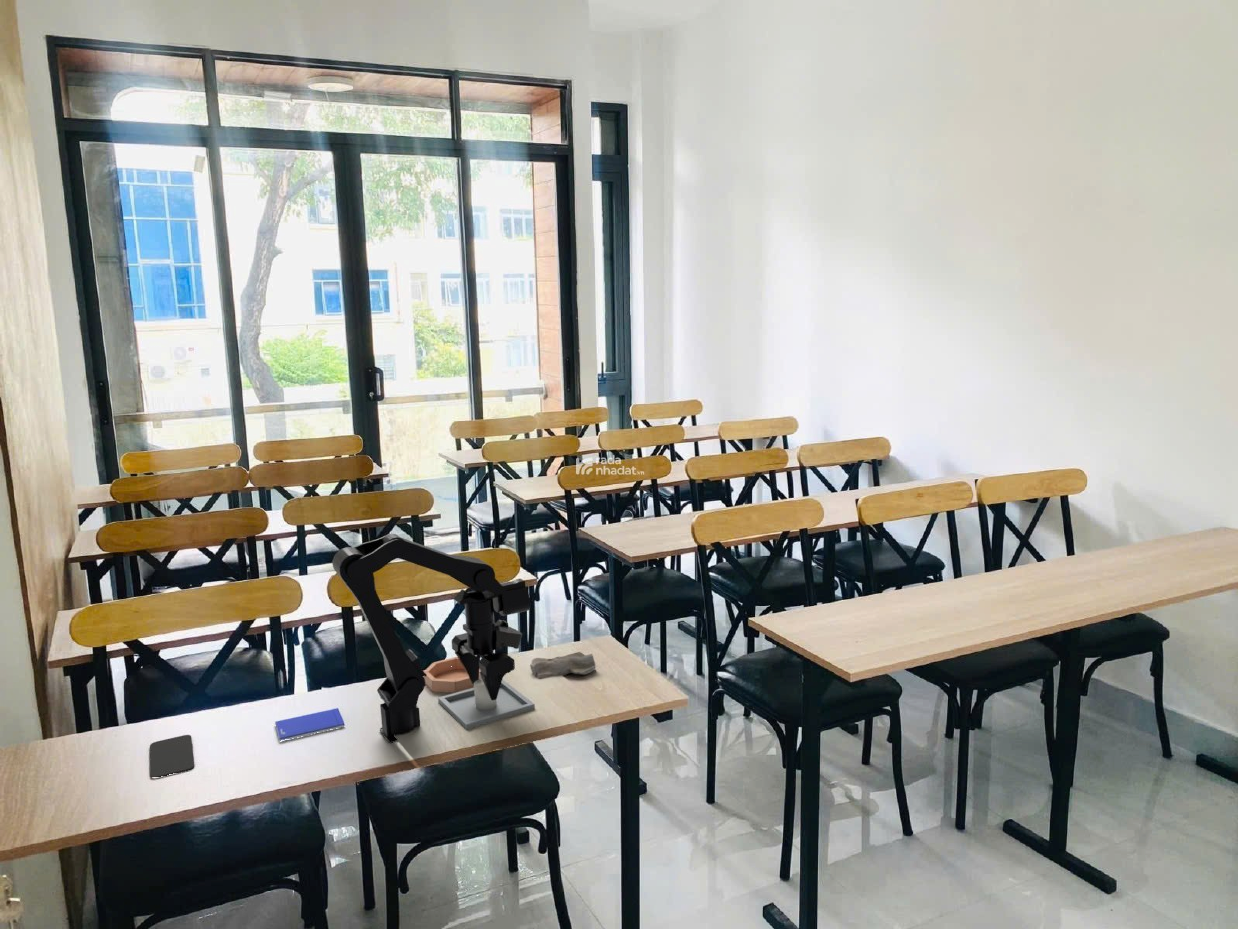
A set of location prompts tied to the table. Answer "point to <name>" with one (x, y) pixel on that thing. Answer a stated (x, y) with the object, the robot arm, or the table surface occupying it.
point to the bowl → (448, 676)
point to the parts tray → (470, 716)
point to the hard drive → (309, 724)
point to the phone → (171, 756)
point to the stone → (563, 665)
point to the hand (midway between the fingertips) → (484, 692)
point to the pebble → (482, 696)
